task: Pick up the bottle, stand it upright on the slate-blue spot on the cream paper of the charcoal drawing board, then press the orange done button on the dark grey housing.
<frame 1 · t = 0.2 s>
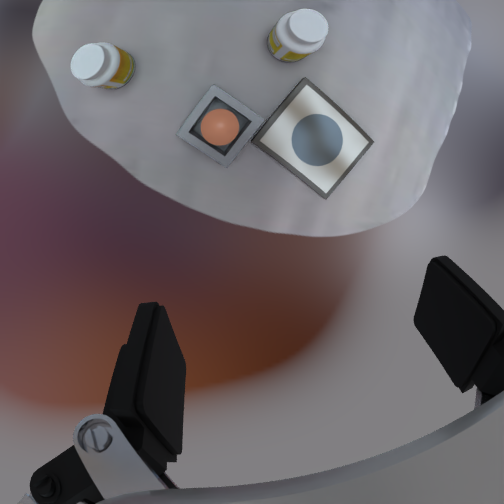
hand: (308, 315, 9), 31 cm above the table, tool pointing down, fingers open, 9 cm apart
button housing: (220, 123, 34), on the table
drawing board: (315, 139, 36), on the table
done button: (219, 126, 29), point 5 cm above the table, slide at 0.0 cm
supplement bottle: (117, 70, 28), on the table
supplement bottle 2: (287, 44, 29), on the table
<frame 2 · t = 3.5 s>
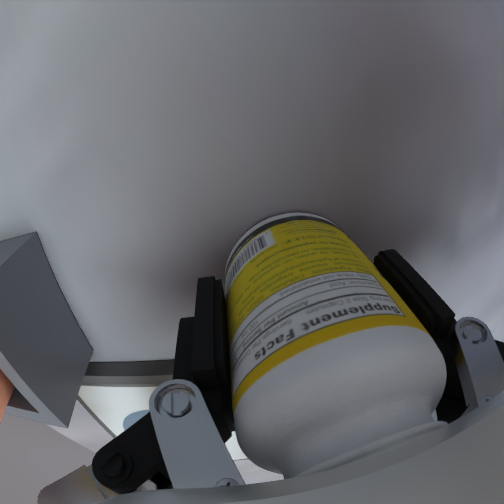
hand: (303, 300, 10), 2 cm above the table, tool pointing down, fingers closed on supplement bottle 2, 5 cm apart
button housing: (19, 302, 11), on the table
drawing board: (175, 419, 17), on the table
supplement bottle 2: (289, 267, 12), on the table, touching gripper
when the fingers open (5 cm above the table, at t = 9.1 s): supplement bottle 2 drops 1 cm, resting on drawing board.
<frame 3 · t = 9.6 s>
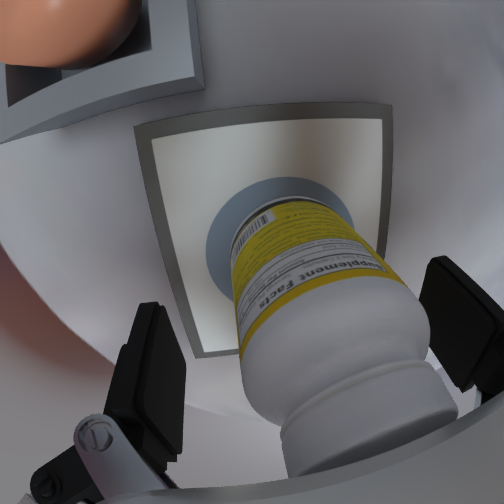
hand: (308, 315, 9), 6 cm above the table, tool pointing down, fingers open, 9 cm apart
button housing: (118, 36, 9), on the table
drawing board: (278, 240, 14), on the table
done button: (66, 6, 4), point 5 cm above the table, slide at 0.0 cm
supplement bottle 2: (289, 247, 13), point 1 cm above the table, touching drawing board
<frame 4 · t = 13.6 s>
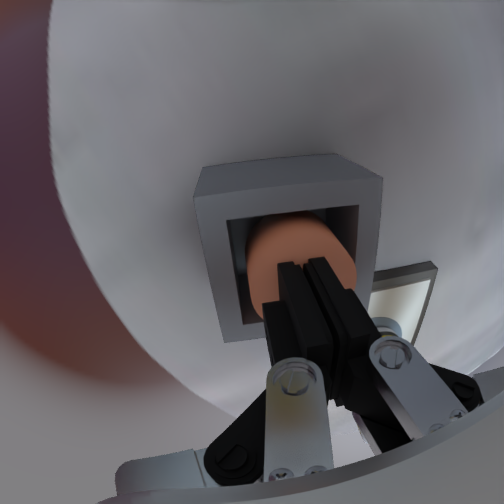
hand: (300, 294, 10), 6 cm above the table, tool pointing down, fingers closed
button housing: (276, 221, 16), on the table
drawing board: (357, 340, 21), on the table
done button: (296, 267, 12), point 5 cm above the table, slide at 0.2 cm, touching gripper
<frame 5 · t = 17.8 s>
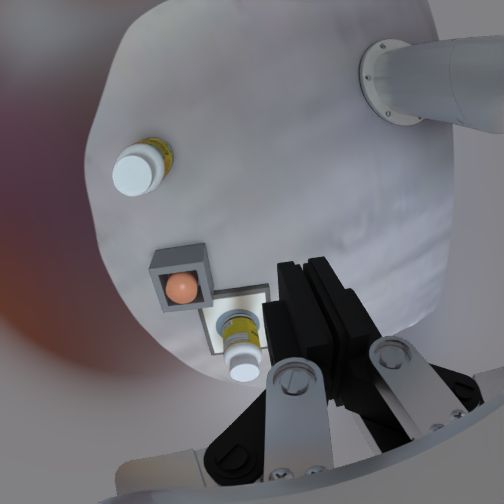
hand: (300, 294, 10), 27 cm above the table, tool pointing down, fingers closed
button housing: (185, 268, 40), on the table
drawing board: (237, 320, 46), on the table
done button: (182, 284, 37), point 4 cm above the table, slide at 1.0 cm
supplement bottle: (153, 157, 33), on the table
supplement bottle 2: (239, 324, 45), point 1 cm above the table, touching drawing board
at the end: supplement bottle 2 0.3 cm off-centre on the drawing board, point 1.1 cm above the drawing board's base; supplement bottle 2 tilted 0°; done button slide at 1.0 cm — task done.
